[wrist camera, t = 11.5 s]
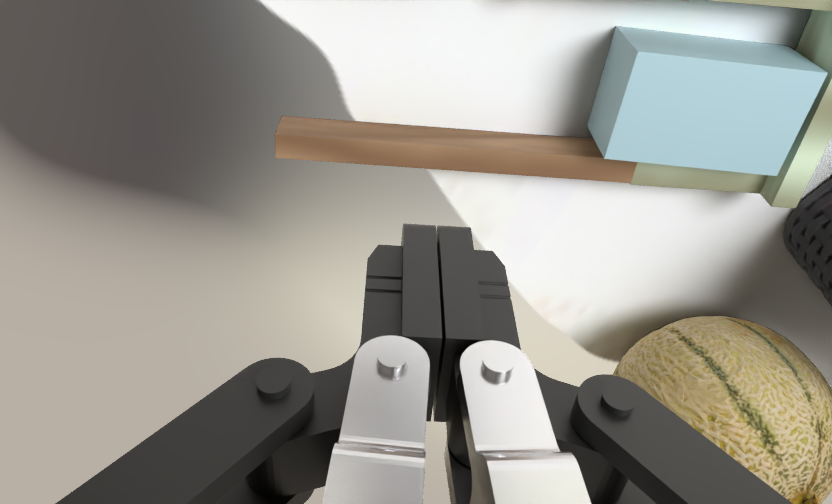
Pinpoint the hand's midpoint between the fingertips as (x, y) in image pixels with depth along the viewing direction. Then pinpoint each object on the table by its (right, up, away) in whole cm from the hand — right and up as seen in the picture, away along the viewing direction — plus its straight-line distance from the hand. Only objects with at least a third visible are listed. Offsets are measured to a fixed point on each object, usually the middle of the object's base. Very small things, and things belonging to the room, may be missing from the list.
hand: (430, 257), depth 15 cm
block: (+15, +10, +24) cm, 30 cm away
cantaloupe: (+20, -7, +36) cm, 42 cm away
